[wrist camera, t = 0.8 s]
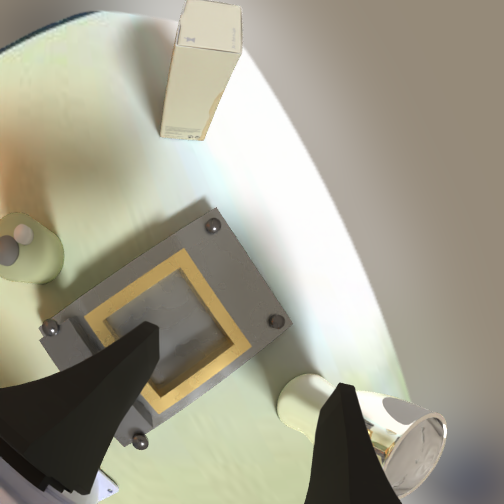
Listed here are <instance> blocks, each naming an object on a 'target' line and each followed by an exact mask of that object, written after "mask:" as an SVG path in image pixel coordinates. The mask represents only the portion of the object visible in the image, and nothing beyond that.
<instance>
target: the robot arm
mask: <svg viewBox="0 0 504 504" xmlns="http://www.w3.org/2000/svg"><path fill="white" fill-rule="evenodd" d="M159 359H160V350H159V326H157V325H155V324H153V323H150V322H148V321H144V322H142V323H141V324H139V325H138V326H137V327H135V328H134V329H132V330H131V331H130V332H128V333H127V334H125V335H124V336H122V337H121V338H119V339H118V340H116V341H115V342H113V343H112V344H110V345H109V346H107V347H106V348H104V349H102V350H101V351H99V352H97V353H96V354H94V355H92V356H90V357H89V358H87V359H85V360H83V361H82V362H80V363H78V364H76V365H74V366H72V367H69V368H67V369H65V370H63V371H61V372H58V373H55V374H53V375H50V376H48V377H45V378H42V379H39V380H36V381H32V382H28V383H25V384H21V385H17V386H12V387H6V388H0V504H98V502H99V501H101V500H103V499H105V498H107V497H109V496H111V495H113V494H115V493H117V492H118V491H119V487H118V486H117V485H116V484H115V483H114V482H113V481H112V480H111V479H109V478H108V477H107V476H106V475H105V474H104V473H103V472H102V471H101V470H100V469H99V468H100V465H101V463H102V461H103V458H104V456H105V454H106V452H107V449H108V447H109V445H110V443H111V441H112V439H113V437H114V435H115V433H116V431H117V429H118V427H119V425H120V423H121V422H122V420H123V418H124V417H125V415H126V414H127V412H128V411H129V409H130V408H131V406H132V405H133V403H134V402H135V400H136V399H137V397H138V396H139V394H140V393H141V391H142V390H143V388H144V387H145V385H146V384H147V382H148V381H149V379H150V377H151V375H152V373H153V371H154V369H155V367H156V365H157V363H158V361H159ZM108 489H111V490H112V491H110V490H108ZM304 504H402V503H401V502H400V499H399V498H398V496H397V495H396V493H395V491H394V490H393V488H392V486H391V484H390V482H389V481H388V479H387V477H386V475H385V472H384V470H383V468H382V466H381V464H380V462H379V459H378V457H377V454H376V452H375V449H374V447H373V444H372V441H371V438H370V435H369V432H368V430H367V427H366V424H365V420H364V417H363V414H362V411H361V407H360V404H359V400H358V397H357V393H356V390H355V387H354V386H353V385H348V384H344V383H339V384H338V385H337V387H336V388H335V390H334V391H333V393H332V394H331V395H330V397H329V398H328V400H327V401H326V402H325V404H324V405H323V406H322V408H321V409H320V413H319V417H318V422H317V427H316V431H315V440H314V449H313V459H312V468H311V476H310V482H309V488H308V492H307V495H306V499H305V503H304Z"/></svg>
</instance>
